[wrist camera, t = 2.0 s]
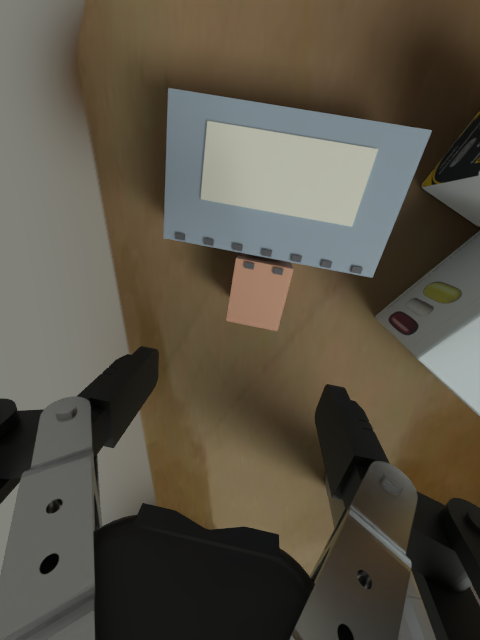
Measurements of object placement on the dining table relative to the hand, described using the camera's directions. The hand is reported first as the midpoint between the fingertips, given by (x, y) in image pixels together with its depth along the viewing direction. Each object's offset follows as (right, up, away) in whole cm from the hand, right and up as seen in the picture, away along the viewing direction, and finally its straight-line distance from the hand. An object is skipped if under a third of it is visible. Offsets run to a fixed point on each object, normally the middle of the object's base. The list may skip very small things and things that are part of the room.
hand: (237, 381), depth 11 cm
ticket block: (+4, +15, +12) cm, 20 cm away
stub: (+2, +7, +16) cm, 18 cm away
